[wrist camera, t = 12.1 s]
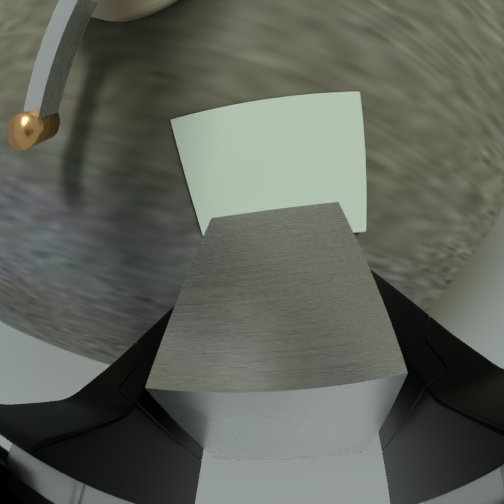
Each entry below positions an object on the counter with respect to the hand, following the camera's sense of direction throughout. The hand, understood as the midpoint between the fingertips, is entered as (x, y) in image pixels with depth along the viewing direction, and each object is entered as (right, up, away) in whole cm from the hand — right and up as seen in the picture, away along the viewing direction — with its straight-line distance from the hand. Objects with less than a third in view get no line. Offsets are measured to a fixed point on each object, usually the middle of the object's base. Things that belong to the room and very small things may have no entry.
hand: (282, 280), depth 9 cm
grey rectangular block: (0, +1, +1) cm, 1 cm away
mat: (+1, +6, +10) cm, 12 cm away
